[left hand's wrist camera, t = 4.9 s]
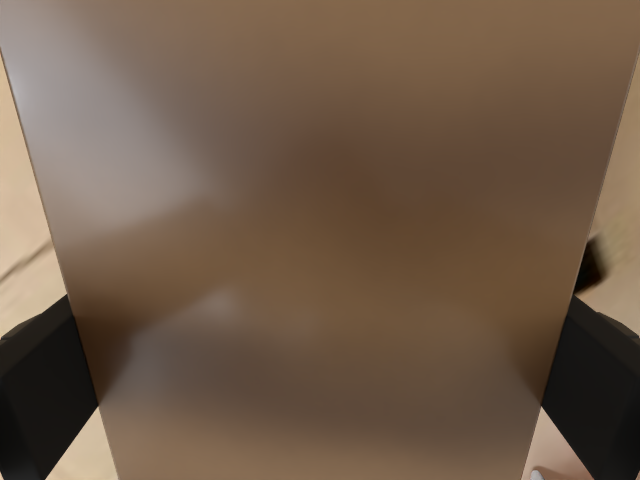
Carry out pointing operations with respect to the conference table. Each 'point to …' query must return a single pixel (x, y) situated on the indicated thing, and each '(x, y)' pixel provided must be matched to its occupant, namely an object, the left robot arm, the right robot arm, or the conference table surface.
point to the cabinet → (319, 220)
